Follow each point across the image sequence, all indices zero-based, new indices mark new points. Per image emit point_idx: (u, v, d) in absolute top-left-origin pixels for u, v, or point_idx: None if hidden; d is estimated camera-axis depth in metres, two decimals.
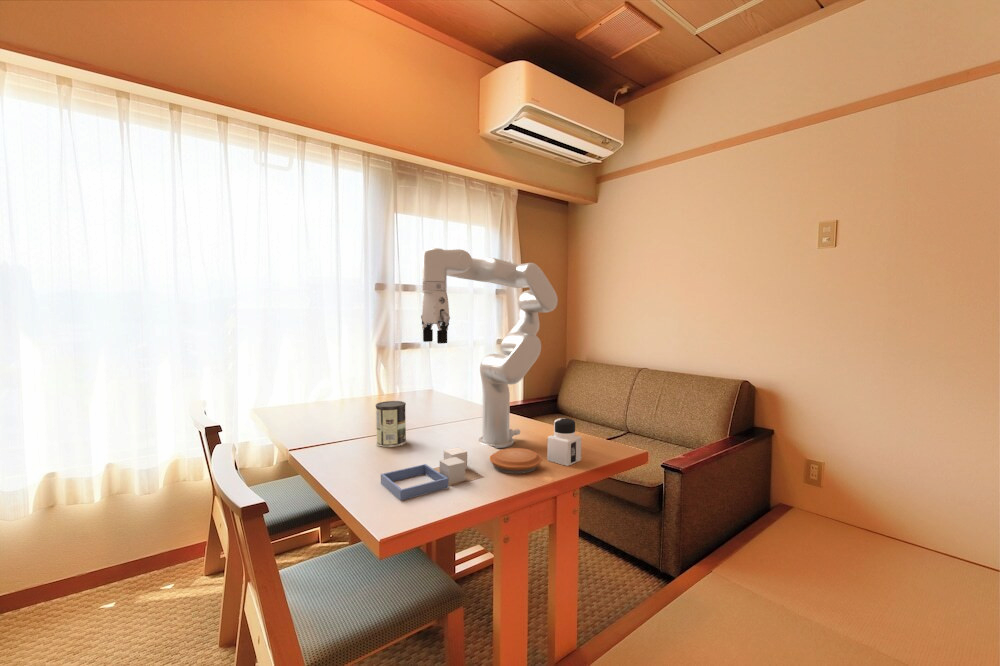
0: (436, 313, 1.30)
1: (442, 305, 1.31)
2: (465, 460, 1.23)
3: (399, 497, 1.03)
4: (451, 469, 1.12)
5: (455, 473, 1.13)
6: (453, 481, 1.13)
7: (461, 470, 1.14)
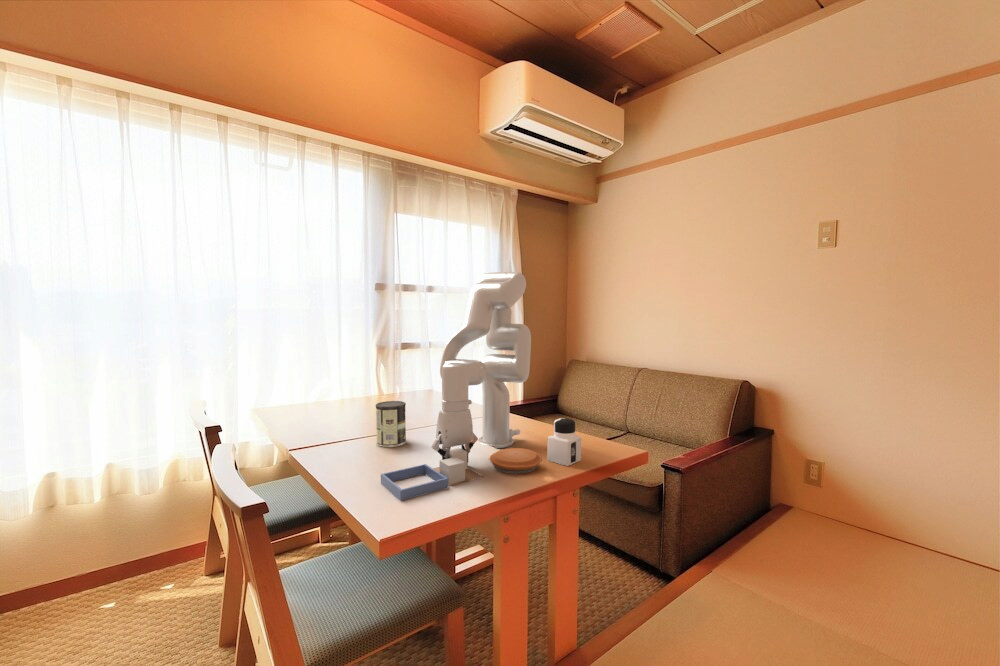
0: (472, 431, 1.25)
1: None
2: (465, 460, 1.23)
3: (399, 497, 1.03)
4: (451, 469, 1.12)
5: (455, 473, 1.13)
6: (453, 481, 1.13)
7: (461, 470, 1.14)
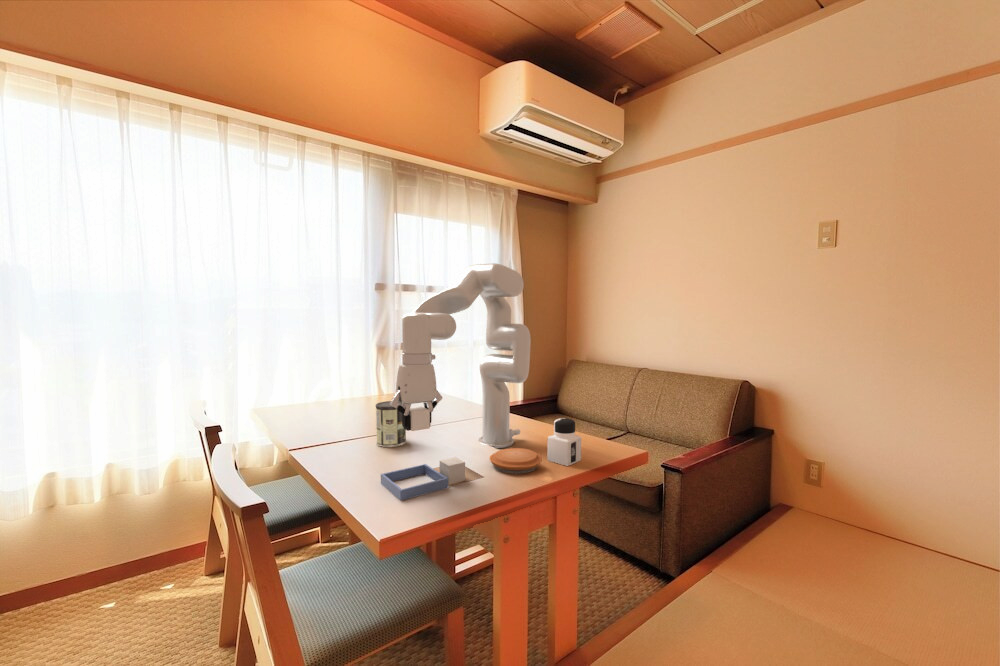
0: None
1: None
2: (427, 419, 1.13)
3: (399, 497, 1.03)
4: (451, 469, 1.12)
5: (455, 473, 1.13)
6: (453, 481, 1.13)
7: (461, 470, 1.14)
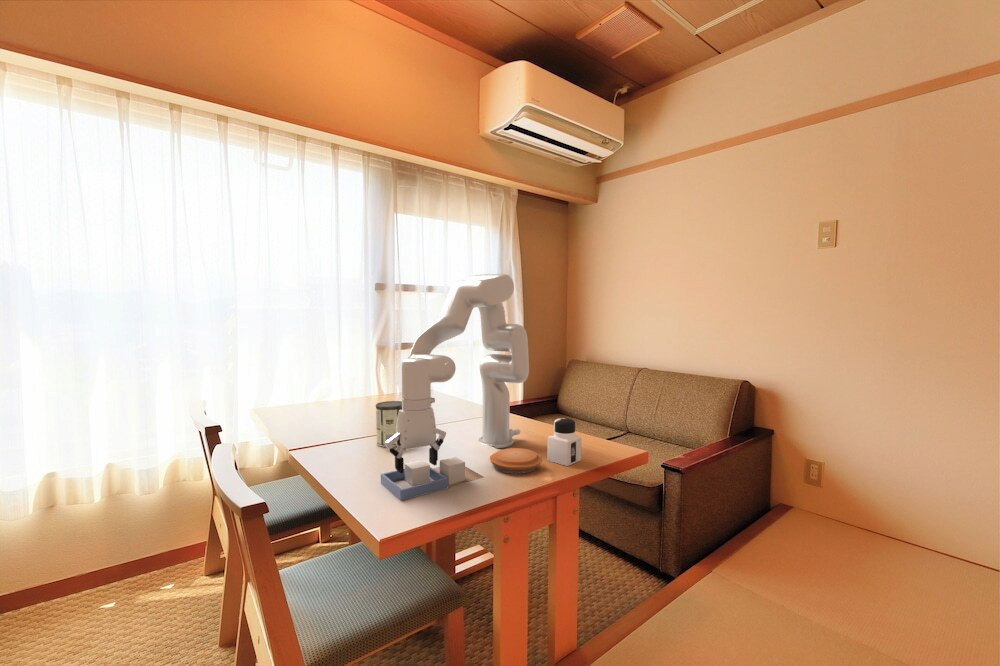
0: (435, 432, 1.15)
1: None
2: (427, 474, 1.14)
3: (399, 497, 1.03)
4: (451, 469, 1.12)
5: (455, 473, 1.13)
6: (453, 481, 1.13)
7: (461, 470, 1.14)
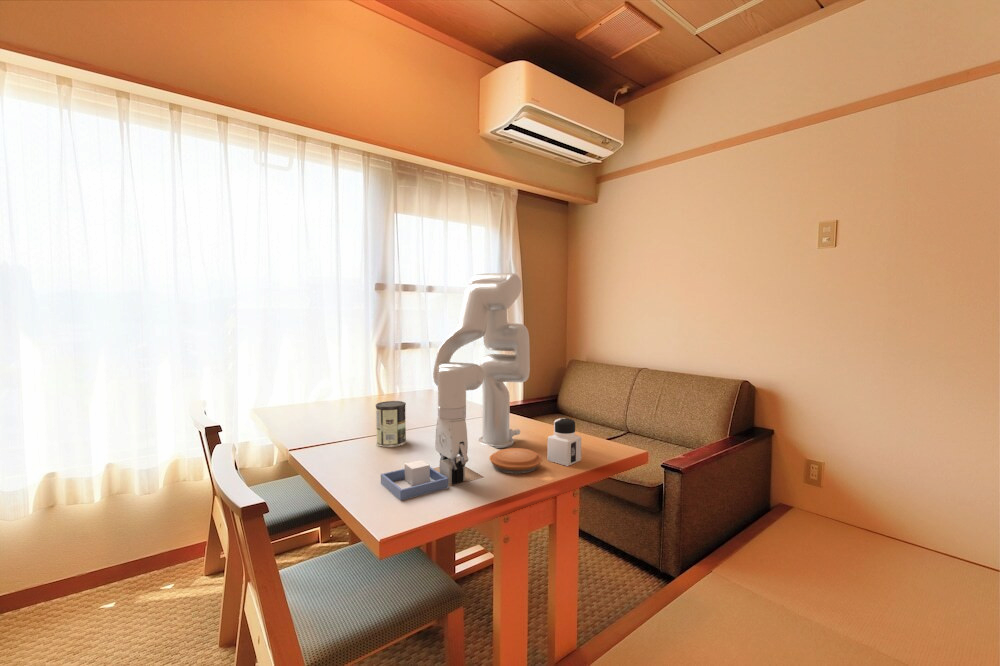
0: None
1: None
2: (427, 474, 1.14)
3: (399, 497, 1.03)
4: (451, 469, 1.12)
5: None
6: None
7: None
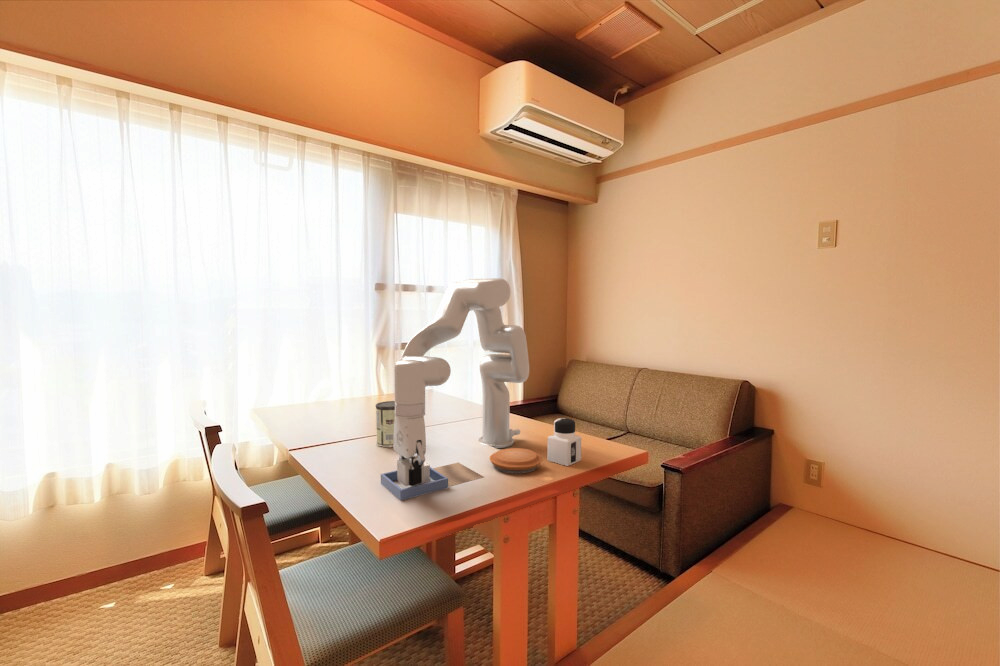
0: None
1: None
2: (427, 474, 1.14)
3: (399, 497, 1.03)
4: (408, 469, 1.05)
5: None
6: None
7: None
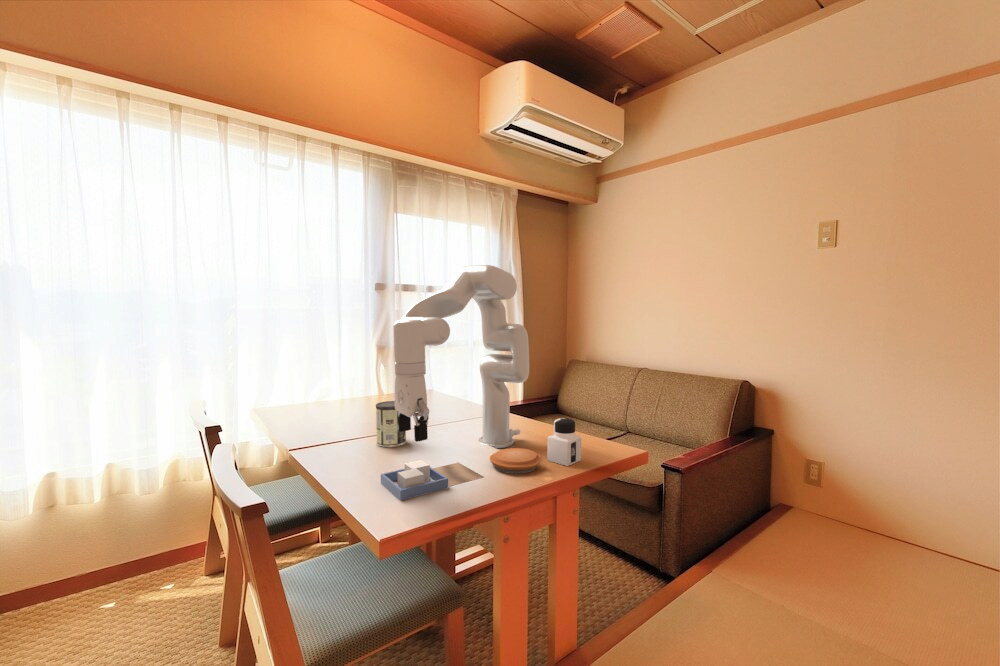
0: None
1: None
2: (427, 474, 1.14)
3: (399, 497, 1.03)
4: (408, 482, 1.05)
5: None
6: None
7: (419, 483, 1.07)
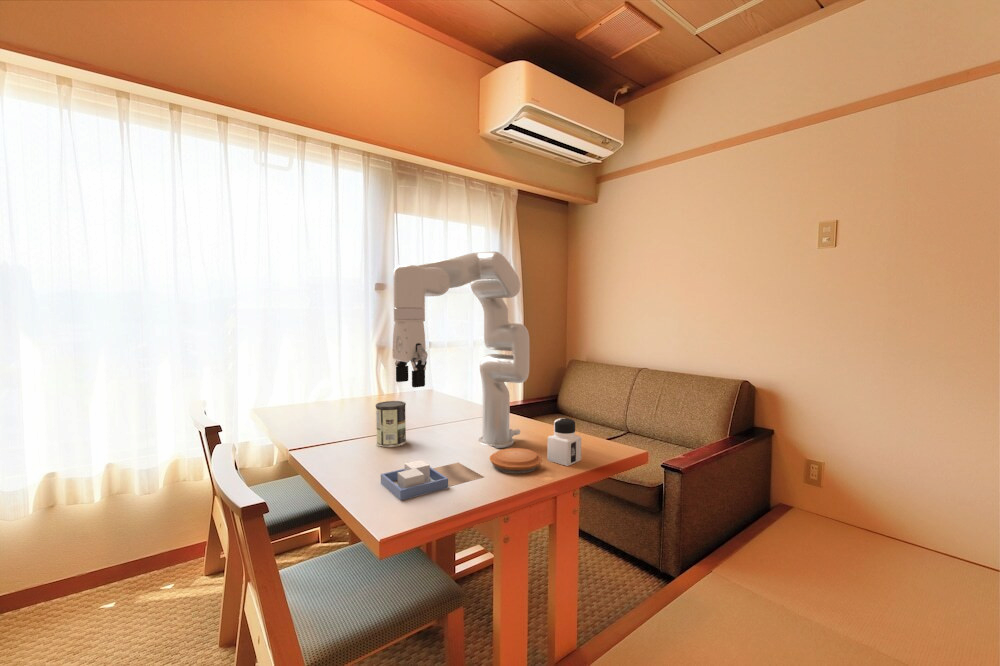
0: None
1: None
2: (427, 474, 1.14)
3: (399, 497, 1.03)
4: (408, 482, 1.05)
5: None
6: None
7: (419, 483, 1.07)
